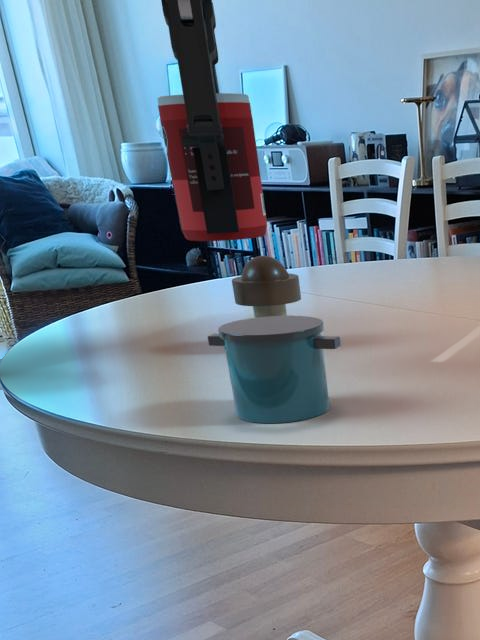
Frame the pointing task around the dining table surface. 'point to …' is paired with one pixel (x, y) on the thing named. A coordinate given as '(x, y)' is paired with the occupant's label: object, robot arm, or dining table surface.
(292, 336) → the enamel pot
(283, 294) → the wooden mushroom
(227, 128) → the canned food
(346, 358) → the dining table surface
